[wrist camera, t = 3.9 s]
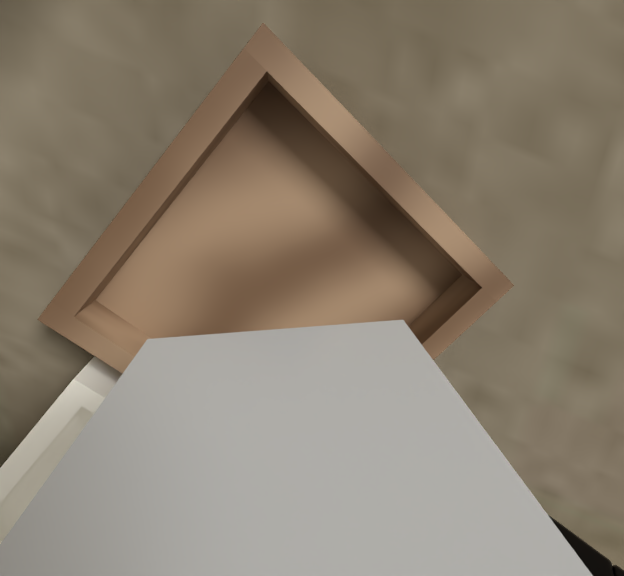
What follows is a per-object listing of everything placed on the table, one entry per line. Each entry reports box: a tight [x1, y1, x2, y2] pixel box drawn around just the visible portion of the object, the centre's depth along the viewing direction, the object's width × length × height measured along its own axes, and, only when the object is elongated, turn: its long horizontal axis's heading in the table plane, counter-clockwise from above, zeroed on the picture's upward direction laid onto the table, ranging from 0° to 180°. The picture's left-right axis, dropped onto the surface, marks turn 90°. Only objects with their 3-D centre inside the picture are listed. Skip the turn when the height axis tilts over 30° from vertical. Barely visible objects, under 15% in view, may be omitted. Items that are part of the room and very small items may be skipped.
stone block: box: [0, 320, 593, 576], centre depth 6 cm, size 5×5×5 cm
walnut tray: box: [37, 23, 514, 374], centre depth 17 cm, size 14×14×2 cm
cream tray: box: [0, 356, 122, 544], centre depth 21 cm, size 14×14×2 cm
